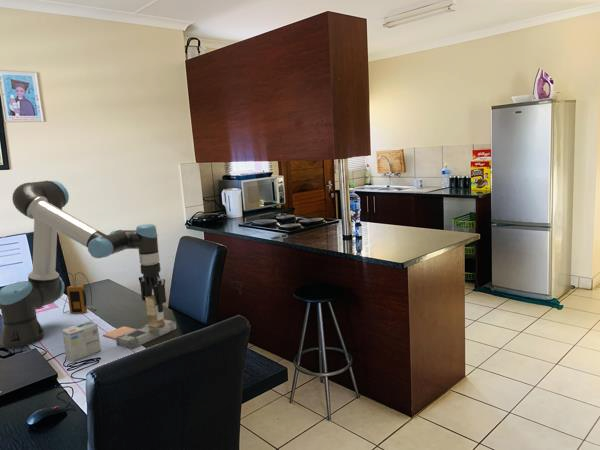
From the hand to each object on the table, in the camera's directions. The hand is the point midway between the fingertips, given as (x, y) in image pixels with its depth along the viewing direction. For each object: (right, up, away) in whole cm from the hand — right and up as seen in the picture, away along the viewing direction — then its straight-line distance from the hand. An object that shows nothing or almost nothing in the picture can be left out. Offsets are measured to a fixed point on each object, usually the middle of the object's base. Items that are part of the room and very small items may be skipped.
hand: (155, 318), depth 186 cm
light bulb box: (-22, -10, -16) cm, 29 cm away
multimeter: (-46, -3, +35) cm, 58 cm away
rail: (-2, -7, -3) cm, 8 cm away
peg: (0, -5, +1) cm, 5 cm away
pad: (-15, -7, +1) cm, 16 cm away
